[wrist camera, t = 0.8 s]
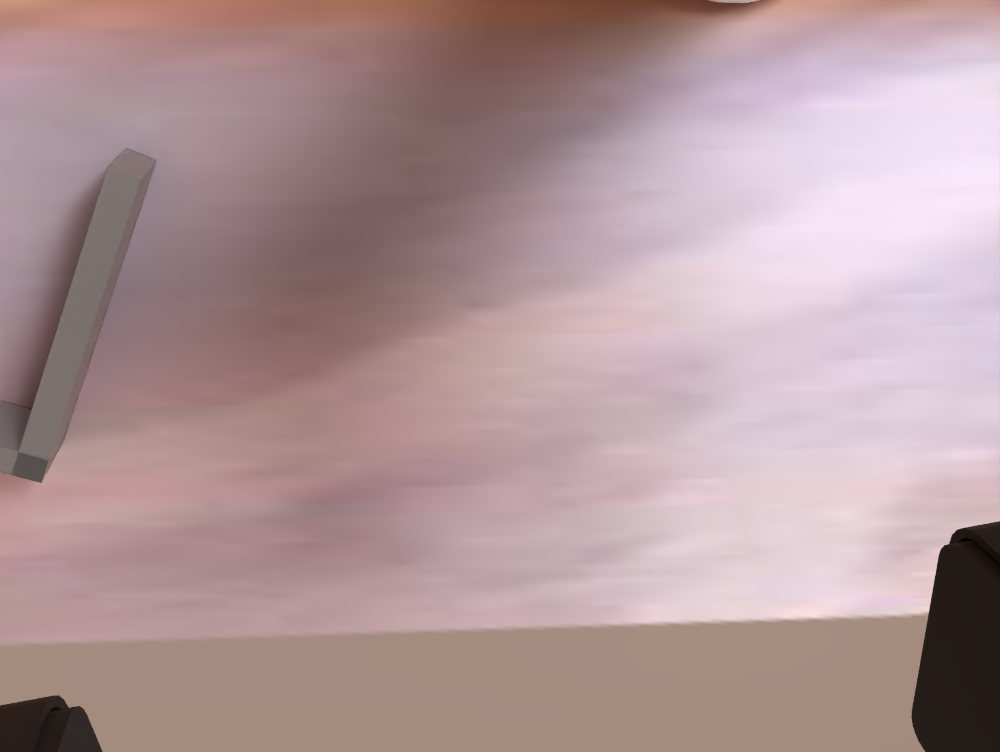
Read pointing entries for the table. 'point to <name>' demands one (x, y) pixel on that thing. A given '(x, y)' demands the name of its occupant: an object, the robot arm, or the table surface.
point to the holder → (76, 323)
